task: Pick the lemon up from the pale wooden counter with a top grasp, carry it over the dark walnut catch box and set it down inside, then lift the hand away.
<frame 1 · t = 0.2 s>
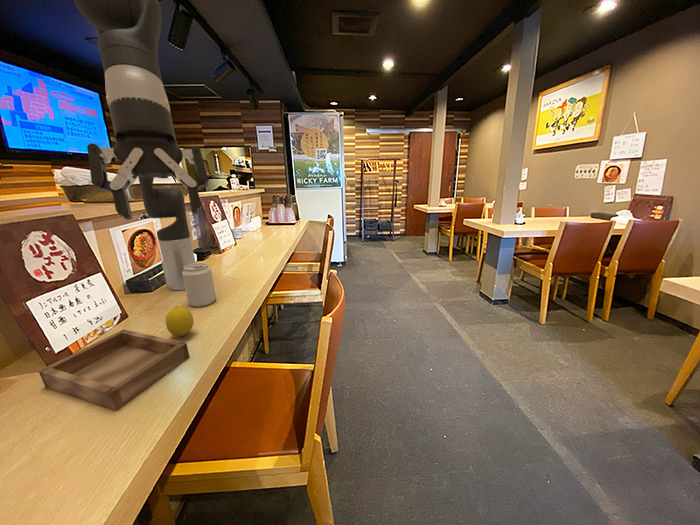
hand: (162, 215, 41), 31 cm above the counter, tool tilted 20°, fingers open, 8 cm apart
can: (203, 303, 82), on the counter
lemon: (183, 336, 65), on the counter
tray: (122, 370, 53), on the counter
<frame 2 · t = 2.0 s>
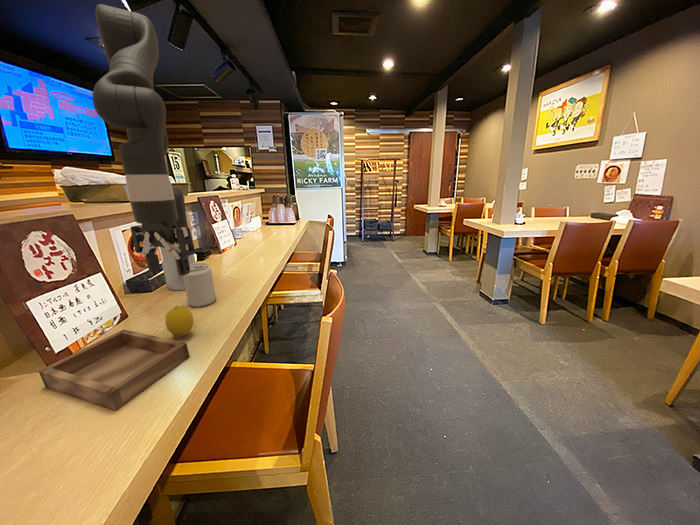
hand: (169, 272, 60), 16 cm above the counter, tool pointing down, fingers open, 8 cm apart
nothing on the counter moved.
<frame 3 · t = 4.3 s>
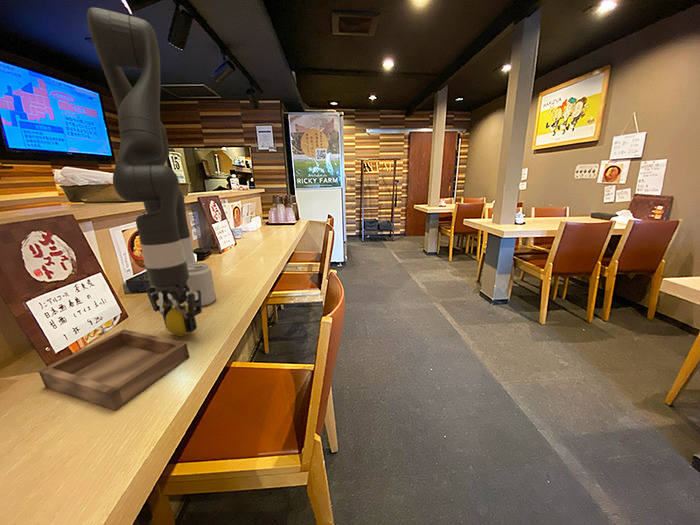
hand: (181, 328, 64), 2 cm above the counter, tool pointing down, fingers closed on lemon, 5 cm apart
lemon: (183, 336, 65), on the counter, touching gripper
everything else where it was.
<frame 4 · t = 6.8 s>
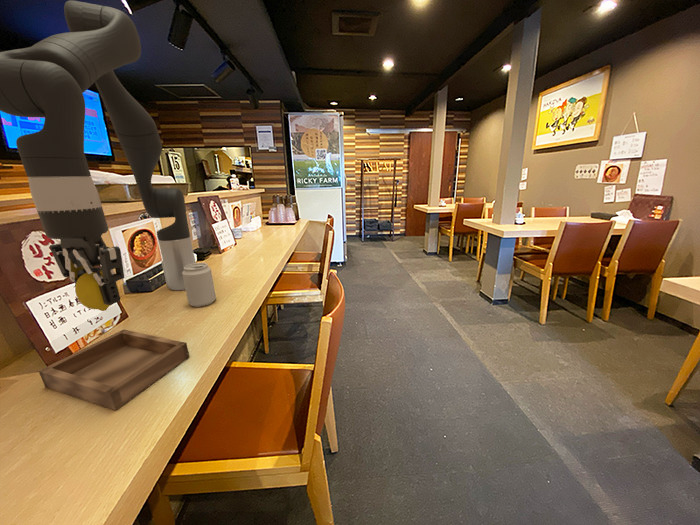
hand: (101, 300, 49), 15 cm above the counter, tool pointing down, fingers closed on lemon, 5 cm apart
lemon: (104, 311, 49), point 13 cm above the counter, touching gripper
everything else where it was.
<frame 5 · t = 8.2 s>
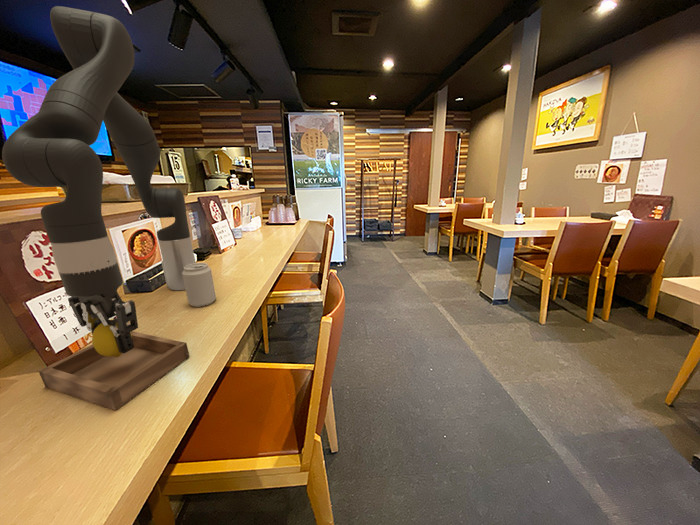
hand: (115, 347, 52), 5 cm above the counter, tool pointing down, fingers closed on lemon, 5 cm apart
lemon: (118, 357, 52), point 3 cm above the counter, touching gripper
everything else where it was.
when the fingers open (4 cm above the counter, at t = 9.3 s): lemon drops 2 cm, resting on tray.
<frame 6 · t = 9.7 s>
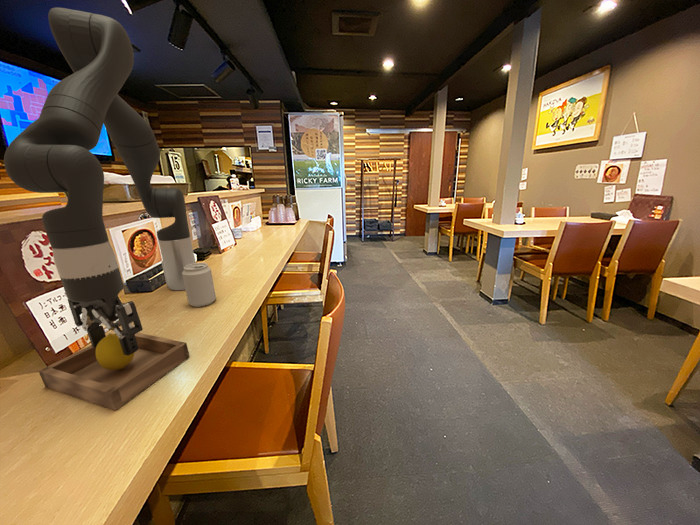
hand: (115, 348, 52), 5 cm above the counter, tool pointing down, fingers open, 8 cm apart
lemon: (122, 369, 53), resting on tray
everything else where it was.
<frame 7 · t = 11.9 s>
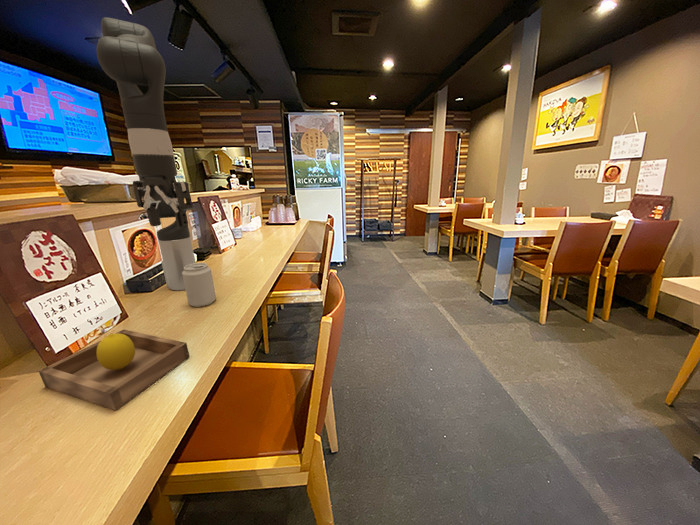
hand: (169, 226, 64), 25 cm above the counter, tool pointing down, fingers open, 8 cm apart
nothing on the counter moved.
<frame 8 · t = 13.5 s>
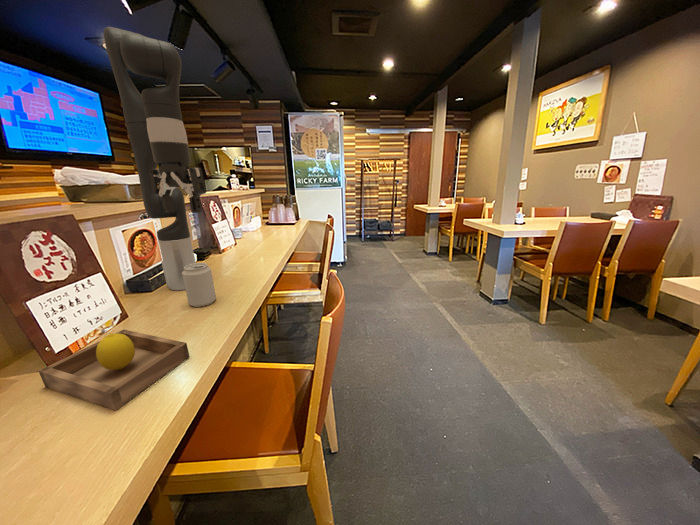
hand: (183, 212, 68), 28 cm above the counter, tool pointing down, fingers open, 8 cm apart
nothing on the counter moved.
at the end: lemon inside the target area on the tray (0.2 cm from its centre), point 0.1 cm above the tray's base; lemon moved 13.0 cm from its start; the gripper is holding nothing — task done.
